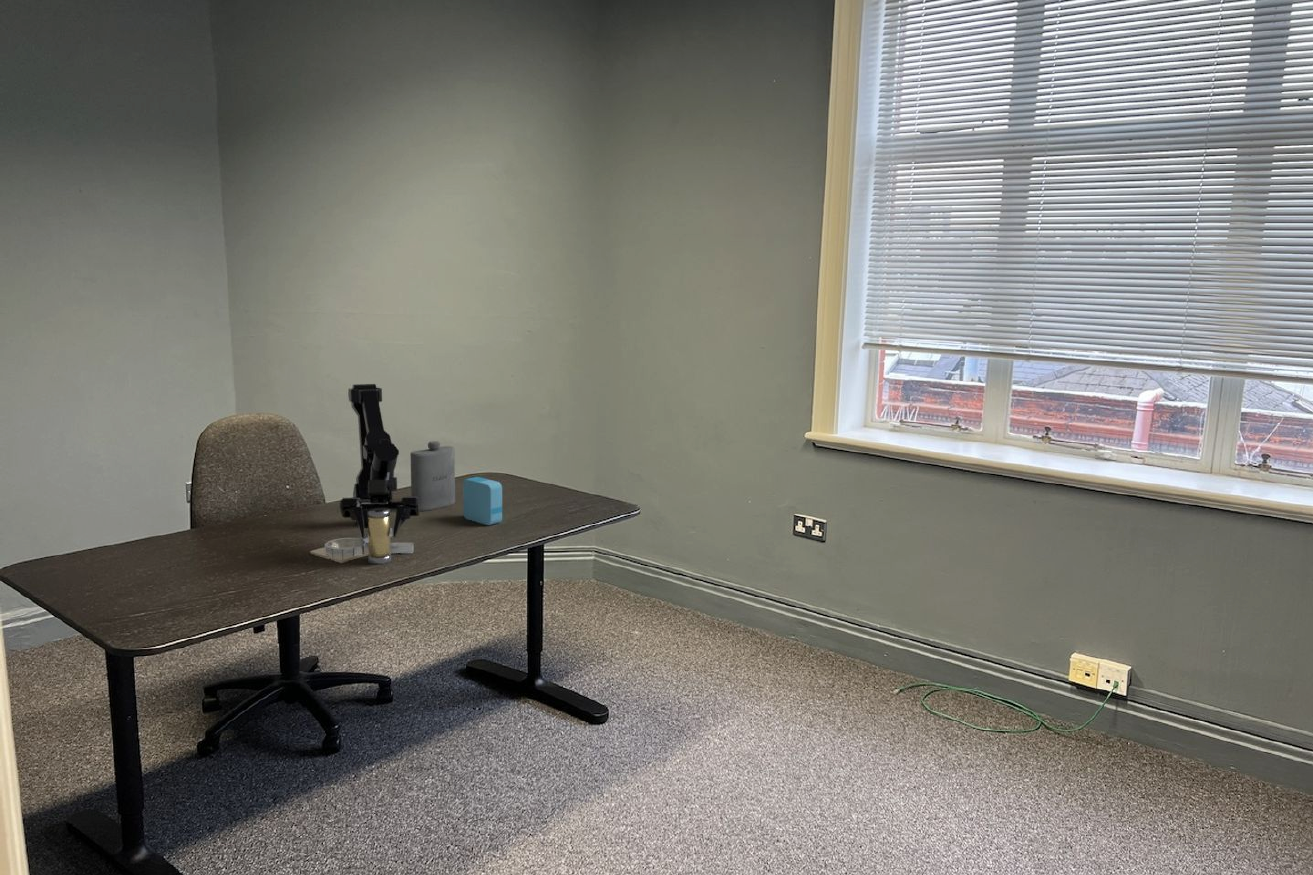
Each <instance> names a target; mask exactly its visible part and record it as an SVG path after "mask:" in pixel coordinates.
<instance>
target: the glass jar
mask: <svg viewBox="0 0 1313 875" xmlns="http://www.w3.org/2000/svg"><path fill="white" fill-rule="evenodd" d="M367 516H368V527H367V534H368V541H369V555H368V563H369V564H371V565H385V564H389V563H390V562H392V554H391V543H392V542H391V537H390V528H391V519H390V518H391V510H390V509H389V508H382V507H379V508H371V509H369V510H367Z"/></svg>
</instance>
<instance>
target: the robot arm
mask: <svg viewBox="0 0 1313 875" xmlns="http://www.w3.org/2000/svg"><path fill="white" fill-rule="evenodd" d="M382 390H383V389H382V388H381V387H377V384H375V383H366V384H365V383H364V384H363V383H361V384H357V383H356V384H352V388H348V391H347V392H348V395H347V396H348V402H349V403H350V405H351V408H352V410H353V412H354V413H355V414H356V415H357V419H358V421H357V422H358V434H359V436H358V437H359V453H360V470H359V472H358V474H357V475H356V477H355V483H354V487H353V492H352V497H342V498H341V500H340V503H339V509H340V512H341V517H342V518H346V519H349V518H350V520H352V521H354V523H353V524H356V525H357V526H358V527H359V532H360V536H362V538H364V535H366V532H365V527H366V528H368V516H367V510H369V509H371V508H379V507H382V508H389V509H390V511H396V513H395V519H394V524H393V538H396V537H397V535H398V533H399V531H400V529H401V527H402V526H403V524H404V523H405V522H406V520H410V518H411V517H418V516H420V511H419V499H418V498H417V497H416V496H410V495H409V496H402V497H401V498H402V499H401V501H394V498H393V496H394V492H397V491H398V477H397V476H394V475H395V469H396V465H397V460H398V457H399V455H400V449H398V448H397V447H396V446H395V444H394V443H392V439H391V436H390V435H391V434H389V433H388V432H387V431H385V427H384V422H383V419H382V418H383V417H382V413H381V407H380V402H383V391H382Z"/></svg>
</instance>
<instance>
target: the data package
mask: <svg viewBox="0 0 1313 875" xmlns="http://www.w3.org/2000/svg"><path fill="white" fill-rule="evenodd" d="M462 503H463V504H462V506H463V507H462V509H463V511H462V514H463V516H464V517H463V518H465V519H466V520H467V521H471V520H472V522H474V521H475V522H476V523H478V524H481V525H486V526H491V525H495V524H499V523H501V522H502V520H503V486H502V484H501V483H500V482H499V481H496V480H491V479H488V478H484V477H479V476H474V477H471V478H465V479H463V481H462Z"/></svg>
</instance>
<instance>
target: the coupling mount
mask: <svg viewBox="0 0 1313 875" xmlns="http://www.w3.org/2000/svg"><path fill="white" fill-rule="evenodd" d="M392 537H394V533H393V528H392V527H390V538H392ZM390 543H391V555H392V554H396V553H397V555H398V553H401V554H413V552H414V542H390ZM310 553H311V554H310ZM309 554H310V555H313V554H314V556H317V557H320V558H323V559H327V560H329V559H331V560H330V561H333V560H334V561H333V562H337V563H340V564H343V563H346V562H350V561H352V560H355V559H360V558H363V557H366V556H369V541H368V533H365V535H364V538H362V535H360V536H359V537H340V538H334V539H331V540H328V541H327V542H326V543H324V547H320V548H317V549H313V550H310V551H309ZM349 560H350V561H349Z"/></svg>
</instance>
